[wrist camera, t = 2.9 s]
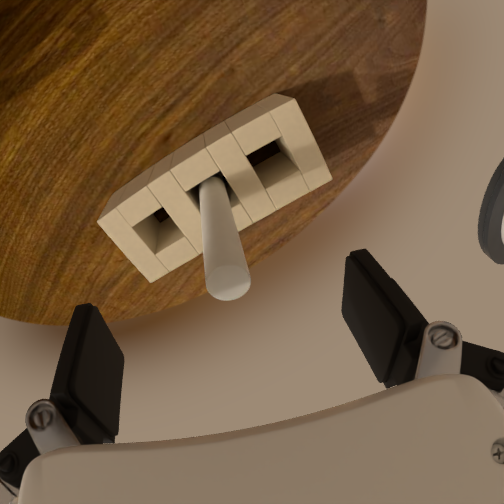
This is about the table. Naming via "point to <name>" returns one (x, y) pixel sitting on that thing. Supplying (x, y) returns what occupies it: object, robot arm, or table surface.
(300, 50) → the table surface
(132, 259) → the pen stand
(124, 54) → the table surface
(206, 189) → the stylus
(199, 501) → the robot arm
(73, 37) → the table surface
